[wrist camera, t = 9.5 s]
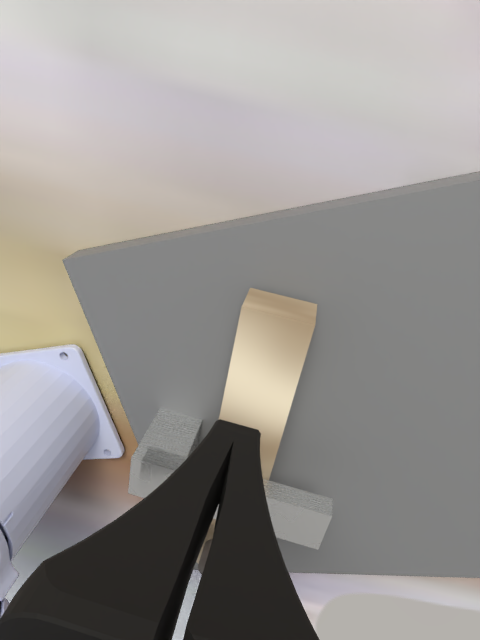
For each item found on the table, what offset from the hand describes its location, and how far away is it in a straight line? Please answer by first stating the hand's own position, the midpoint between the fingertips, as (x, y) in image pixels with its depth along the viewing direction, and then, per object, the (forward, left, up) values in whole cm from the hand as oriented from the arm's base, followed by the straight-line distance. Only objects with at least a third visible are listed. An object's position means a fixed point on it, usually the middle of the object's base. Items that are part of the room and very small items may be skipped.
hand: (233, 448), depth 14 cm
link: (-2, -6, -8) cm, 10 cm away
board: (+2, -6, -9) cm, 11 cm away
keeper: (-3, -7, -8) cm, 11 cm away
